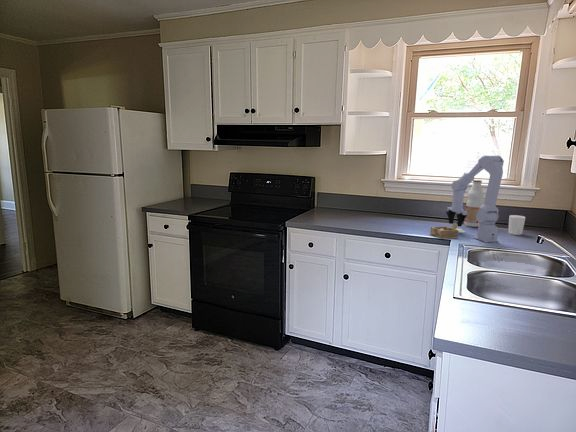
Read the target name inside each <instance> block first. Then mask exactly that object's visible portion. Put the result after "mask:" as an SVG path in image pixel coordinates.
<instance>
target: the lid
mask: <svg viewBox="0 0 576 432" xmlns="http://www.w3.org/2000/svg"><path fill="white" fill-rule="evenodd" d="M451 228H453V229H456V230H458V233H463V234H466V231H465V230H463V228H460V227H459V228H458V226H457V223H453V224H452V226H451Z"/></svg>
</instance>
